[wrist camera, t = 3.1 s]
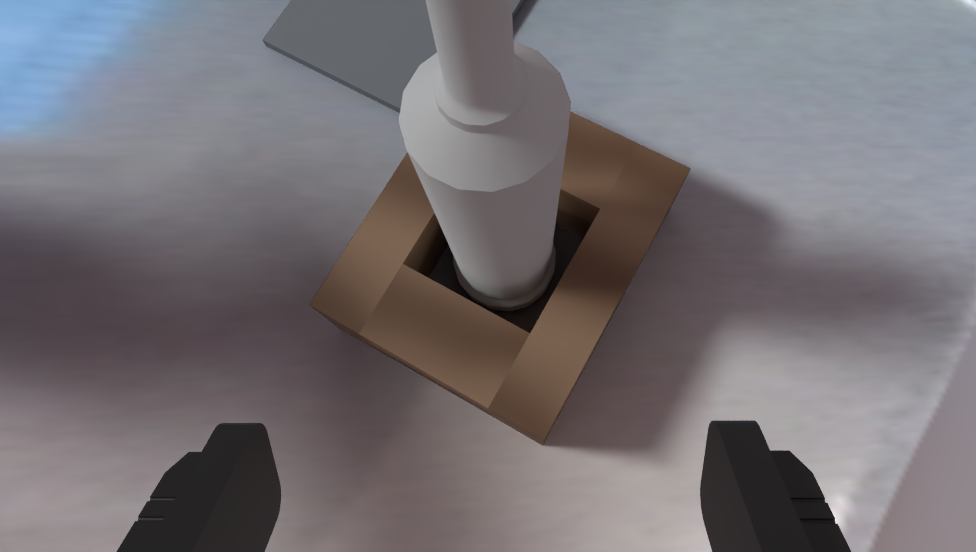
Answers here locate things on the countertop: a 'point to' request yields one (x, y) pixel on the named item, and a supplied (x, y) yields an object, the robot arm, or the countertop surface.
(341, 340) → the countertop surface
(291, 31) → the slate mat
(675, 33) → the countertop surface
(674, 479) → the countertop surface
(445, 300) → the walnut holder
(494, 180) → the bottle
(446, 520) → the countertop surface
